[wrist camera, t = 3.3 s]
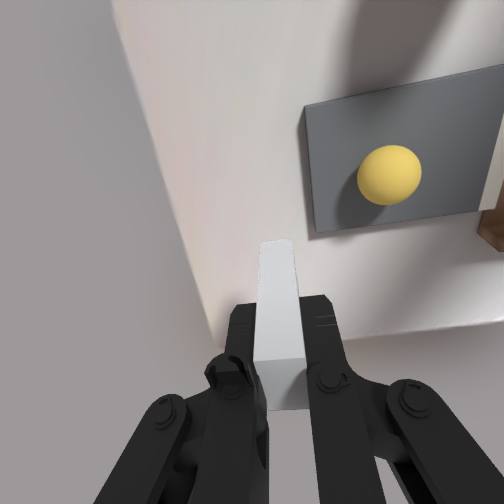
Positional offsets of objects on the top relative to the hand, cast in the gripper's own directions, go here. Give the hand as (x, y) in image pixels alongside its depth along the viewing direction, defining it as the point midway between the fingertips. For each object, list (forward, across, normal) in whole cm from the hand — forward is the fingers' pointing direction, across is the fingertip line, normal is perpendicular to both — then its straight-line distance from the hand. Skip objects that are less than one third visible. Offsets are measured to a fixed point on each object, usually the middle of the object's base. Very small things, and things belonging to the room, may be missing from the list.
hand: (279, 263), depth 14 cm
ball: (+8, +8, 0) cm, 11 cm away
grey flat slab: (+11, +10, 0) cm, 15 cm away
